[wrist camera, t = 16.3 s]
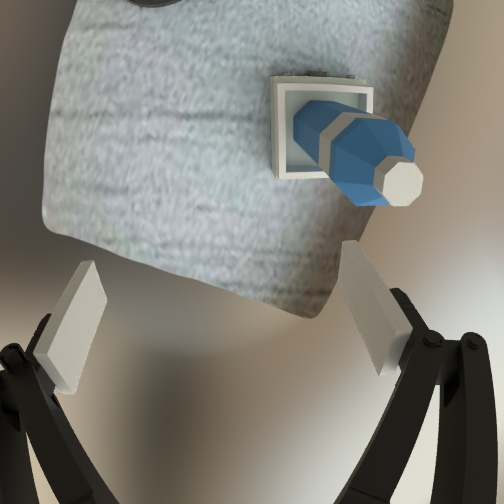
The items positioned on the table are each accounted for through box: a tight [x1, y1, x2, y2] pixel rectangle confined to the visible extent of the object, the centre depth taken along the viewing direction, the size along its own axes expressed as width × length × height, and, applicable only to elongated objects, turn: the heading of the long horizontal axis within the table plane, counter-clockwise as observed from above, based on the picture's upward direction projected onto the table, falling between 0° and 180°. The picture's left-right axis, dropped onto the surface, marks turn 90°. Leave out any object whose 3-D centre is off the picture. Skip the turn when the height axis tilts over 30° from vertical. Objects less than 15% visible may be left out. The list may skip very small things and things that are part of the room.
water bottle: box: [293, 100, 423, 206], centre depth 35 cm, size 9×9×25 cm
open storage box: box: [269, 71, 373, 180], centre depth 46 cm, size 17×14×8 cm
